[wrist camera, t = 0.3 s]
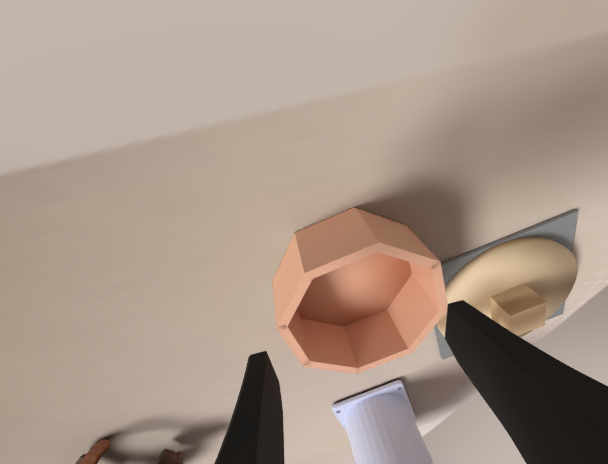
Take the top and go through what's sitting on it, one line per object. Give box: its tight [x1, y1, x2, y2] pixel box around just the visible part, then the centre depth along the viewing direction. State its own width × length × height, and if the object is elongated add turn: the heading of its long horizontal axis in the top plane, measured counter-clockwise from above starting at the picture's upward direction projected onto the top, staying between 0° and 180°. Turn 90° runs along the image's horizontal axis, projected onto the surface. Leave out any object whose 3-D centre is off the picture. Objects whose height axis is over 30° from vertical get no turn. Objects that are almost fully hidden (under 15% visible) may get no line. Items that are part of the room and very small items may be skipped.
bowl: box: [273, 207, 448, 374], centre depth 20 cm, size 11×11×4 cm
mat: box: [434, 209, 578, 359], centre depth 26 cm, size 13×13×1 cm
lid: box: [437, 236, 577, 338], centre depth 25 cm, size 12×12×3 cm
